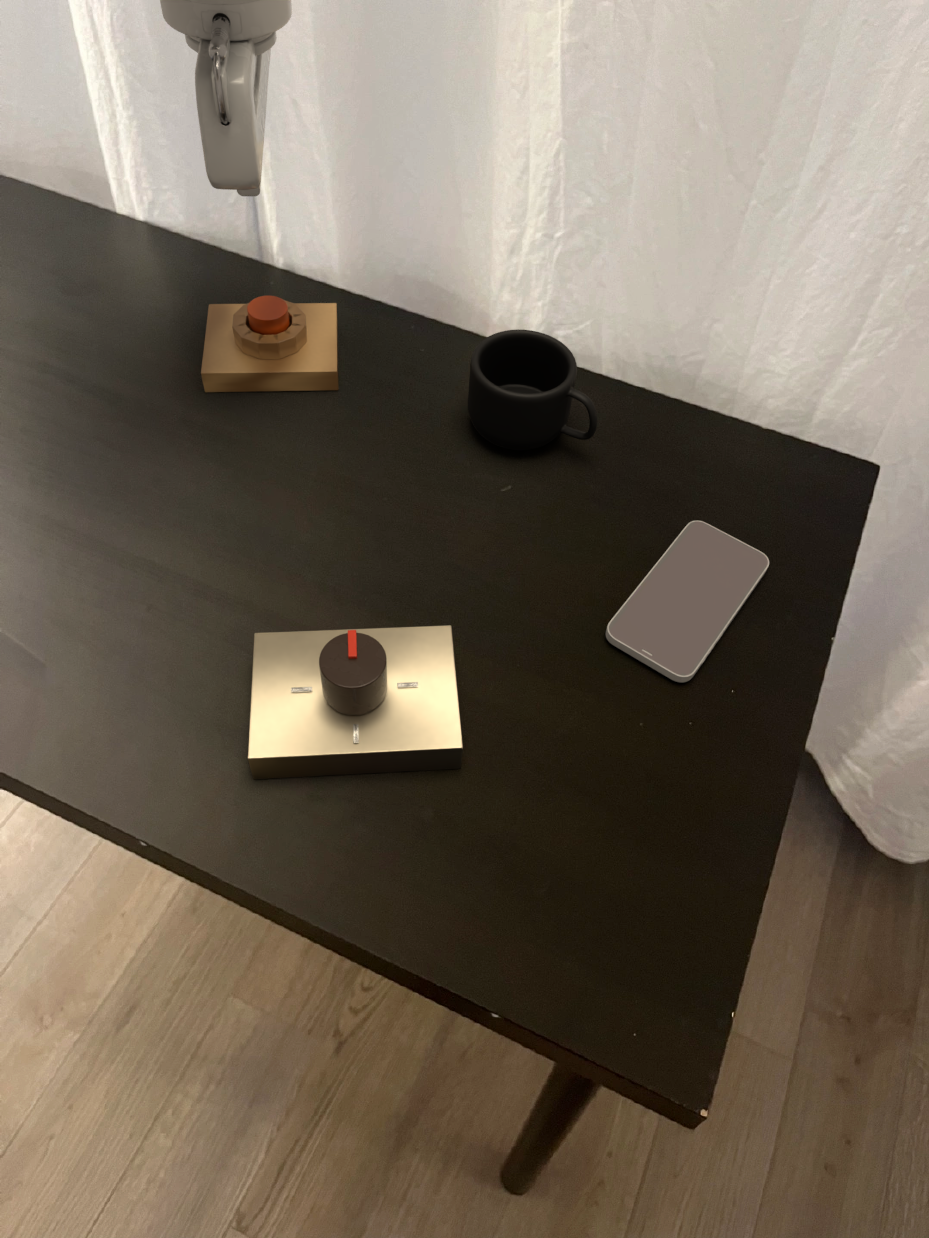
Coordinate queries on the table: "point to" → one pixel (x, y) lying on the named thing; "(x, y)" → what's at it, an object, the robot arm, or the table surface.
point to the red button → (268, 315)
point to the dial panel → (354, 744)
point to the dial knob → (353, 673)
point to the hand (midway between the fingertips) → (250, 181)
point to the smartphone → (687, 600)
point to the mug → (524, 390)
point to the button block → (271, 351)
